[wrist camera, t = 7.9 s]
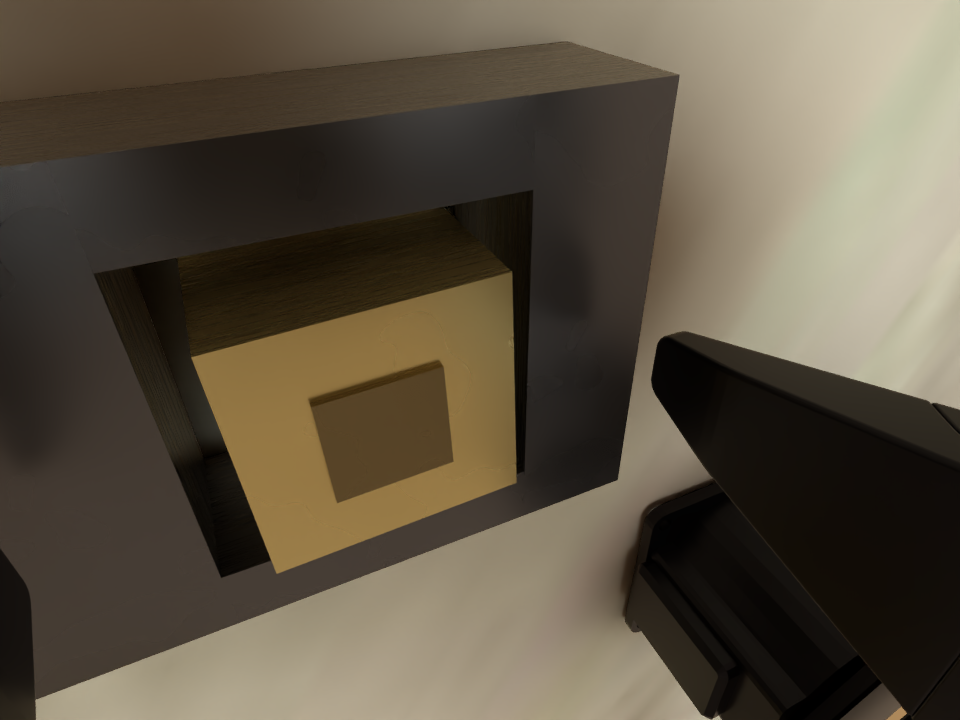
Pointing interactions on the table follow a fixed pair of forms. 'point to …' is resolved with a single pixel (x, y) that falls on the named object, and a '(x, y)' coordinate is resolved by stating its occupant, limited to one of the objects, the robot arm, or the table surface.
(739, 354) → the robot arm
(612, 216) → the rail
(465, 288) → the nut
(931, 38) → the table surface
